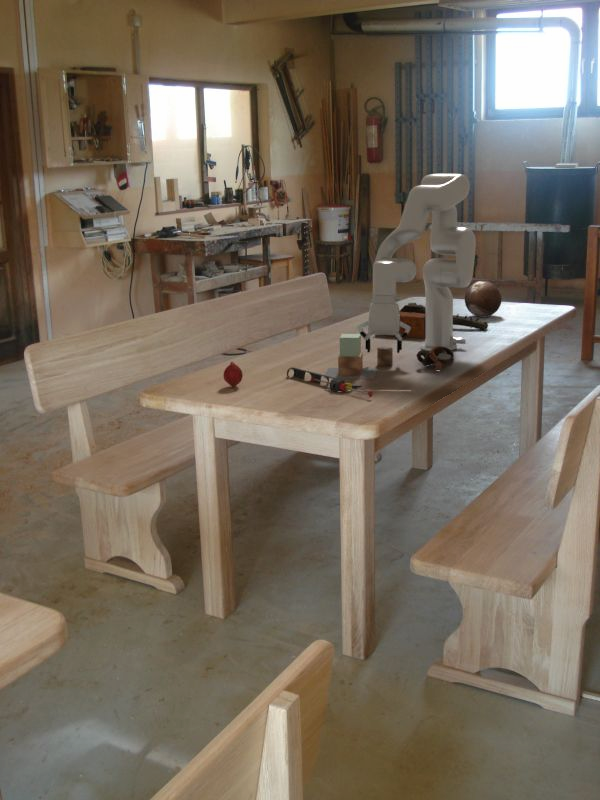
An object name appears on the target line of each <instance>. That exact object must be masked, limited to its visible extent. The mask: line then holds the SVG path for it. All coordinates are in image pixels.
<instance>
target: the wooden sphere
mask: <svg viewBox="0 0 600 800" xmlns="http://www.w3.org/2000/svg"><path fill="white" fill-rule="evenodd" d="M502 301H503V298H502V292H501V289H500V288H499V287H498V286H497V285H496V284H495V283H493V282H491V281H489V280H479V281H478V280H477V281H475V282H474V283H472V284H471V285H469V287H467V290H466V291H465V294H464V303H465V304H464V305H465V307H466V309H467V310H468V311H469V312H470V313H471V314H472V315H473V316H475V317H477V318H489V317H490V316H492V315H494V314H495V313H496V312H498V310H499V309H500V307H501V304H502Z"/></svg>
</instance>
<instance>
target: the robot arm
mask: <svg viewBox="0 0 600 800" xmlns="http://www.w3.org/2000/svg"><path fill="white" fill-rule="evenodd" d="M470 189H471V183H470V180H469V178H468V177H467V176H466V175H465V174H463V173H462V174H461V173H431V174H427V175H425V176H424V177H422V179H421V181H420V184H419V185H415V186H414V187H412V188H411V190H410V191H409V193H408V196H407V198H406V199H407V200H406V202H405V205H404V209H403V211H402V215H401V218H400V221H399V225H398V226H397V227H396V228H395V229H394V230H393V231H392V232H391V233H390V234H389V235H388V236H386V237H385V239H384V240H383V241H382V243H380V245H379V247H378V249H377V253H376V256H375V260H374V262H373V264H372V303H370V305H369V310H368V318H367V319H368V320H367V321H365V322H363V323H361V324H359V325H357V327H356V328H357V330H358V333H359V334H361V338H363V339H364V340H365V350H367V353H370V352H371V339H370V338H371V337H372V336H384V335H395V336H394V337H396V338H397V341H396V353H397V354H400V351H402V349H403V347H402V346H403V340H404V339H405V338H407V337H406V336H407V334H408V333H409V331H410V329H411V327H410V326H408V325H406V324H404V323H403V322H401V321H400V313H399V311H400V306H399V303H397V301H401V296H400V295H397V283H409V282H411V281H412V280H414V278H415V277H416V275H417V271H418V270H417V266H416V264H415V263H414V261H412V260H410V259H407V258H398V257H397V258H395V257H393V256H394V254H395V253H396V251H398V250H399V249H400V248H401V247H402V246H404V245H406V244H408V243H410V242H412V241H415V240H417V239H420V238H421V237H422V236H423V235H424V233H425V230H426V226H427V223H428V220H429V216H430V215H431V214H432V215H431V227H430V239H429V240H430V242H429V246H430V250H431V251H432V252H433V253H435V254H438V255H446V256H455V258H456V259H455V258H445V257H444V258H441V257H439V258H438V257H436V258H431V259H429V260H427V261H426V262H425V263H424V265H423V268H422V277H423V284H424V290H425V291H424V293H425V295H424V296H425V303H424V304H425V305H424V307H425V340H424V341H425V342H423V343H422V344H420V348H421V350H425V351H427V352H429V351H431V350H432V349H433V348H434V347H436V346H443V347H446V348H448V349H450V350H451V351H455V350H456V349H458V347H457V346H458V344H461V345H466V337H465V338H463V337H455V336H454V333H453V332H454V330H453V327H454V325H453V315H454V298H453V293H452V291H451V289H450V288H458V289H460V288H461V289H464V288H468V286H470V284H471V282H472V279H473V276H474V269H475V267H474V266H475V256H476V248H477V247H476V246H477V245H476V244H477V239H476V236H475V233H474V231H473V230H472V229H470V228H469V227H465V226H464V227H463V226H457V224H458V210H457V207H456V205H458V204H459V203H461V202H462V201H464V200H465V199H466V198H467V196H468V195H469V192H470ZM400 326H401V327H403V328H405V329H406V330H405V332H404V333H403V334H402V335H401V334H400V333H399V331H400ZM365 327H367V330H368V333H366V332H365V331H364V330H363V329H364V328H365ZM454 349H455V350H454ZM443 352H445V351H444V350H443Z"/></svg>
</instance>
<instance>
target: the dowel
mask: <svg viewBox="0 0 600 800" xmlns="http://www.w3.org/2000/svg"><path fill="white" fill-rule="evenodd" d="M376 351H377V356H376V363H377V366H378V367H383V368H384V367H385V368H386V367H391V366H393V365H394V364H393V363H394V361H393V360H394V359H393V358H394V357H393V356H394V355H393V351H394V350H393V347H391V346H379V347H376Z"/></svg>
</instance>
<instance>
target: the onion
mask: <svg viewBox="0 0 600 800" xmlns="http://www.w3.org/2000/svg"><path fill="white" fill-rule="evenodd" d="M243 376H244V374H243V371H242V369H241V368H240V367H239V366H238V364H236V363H235V362H234V361H231V362H229V364H228V365H227V367H225V369H224V370H223V379H224V381H225V382H226V384H228V385H230V386H231V387H232V388H235V387H237V386H238V385H239V384H240V383H241V382H242V379H243Z"/></svg>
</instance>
